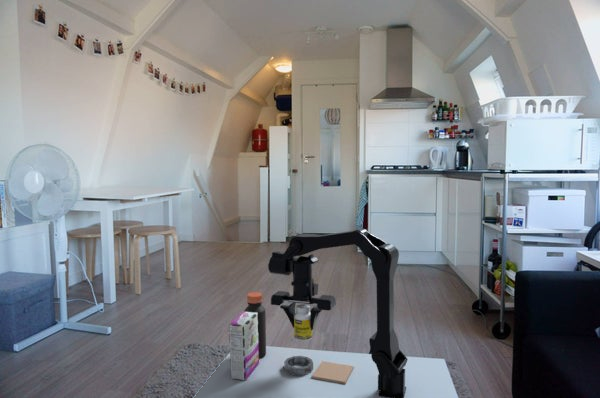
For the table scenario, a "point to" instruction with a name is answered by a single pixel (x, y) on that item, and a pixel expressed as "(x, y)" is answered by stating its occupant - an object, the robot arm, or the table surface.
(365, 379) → the table surface
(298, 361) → the collar
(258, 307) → the vinegar
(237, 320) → the candy bar box
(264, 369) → the table surface
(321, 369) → the mat
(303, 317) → the supplement bottle
